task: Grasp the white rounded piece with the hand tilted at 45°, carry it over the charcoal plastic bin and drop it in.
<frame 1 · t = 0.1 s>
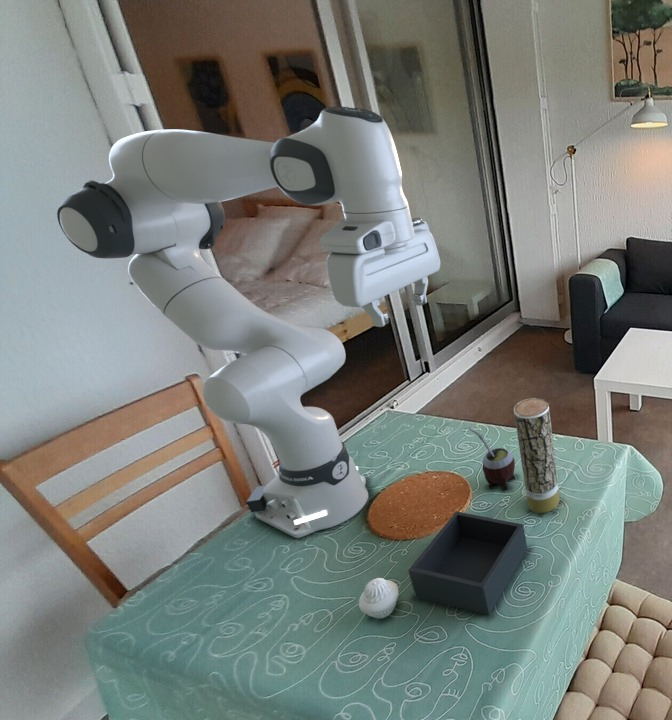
hand: (402, 314, 81), 48 cm above the table, tool pointing down, fingers open, 8 cm apart
mate gourd: (499, 483, 116), on the table
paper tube: (544, 504, 110), on the table
white rounded piece: (384, 611, 87), on the table
bin: (474, 572, 94), on the table
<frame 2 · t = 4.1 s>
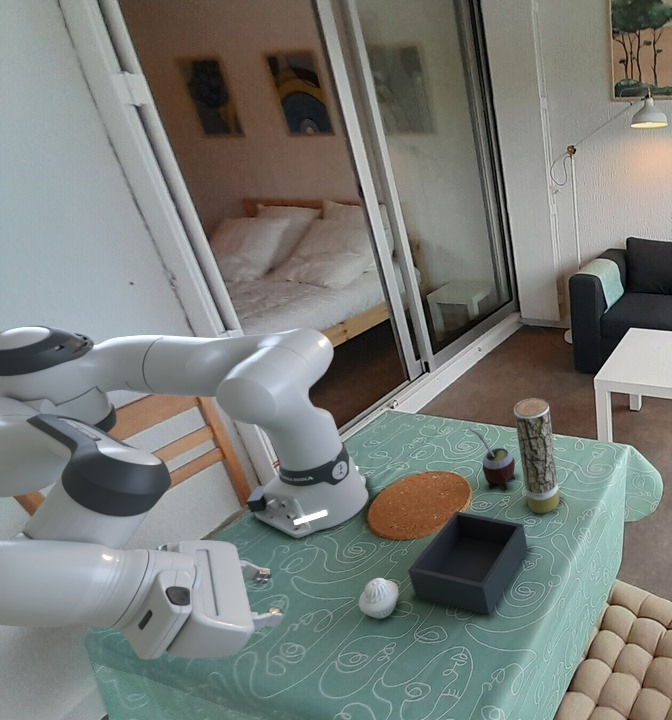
hand: (274, 596, 73), 14 cm above the table, tool tilted 45°, fingers open, 8 cm apart
nothing on the table moved.
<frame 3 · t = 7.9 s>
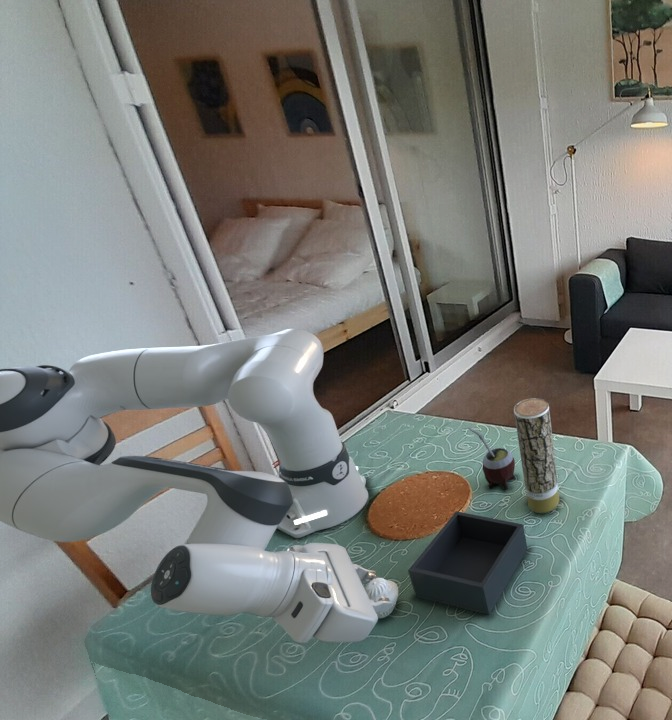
hand: (381, 591, 85), 4 cm above the table, tool tilted 45°, fingers closed on white rounded piece, 6 cm apart
white rounded piece: (384, 611, 87), on the table, touching gripper
everything else where it was.
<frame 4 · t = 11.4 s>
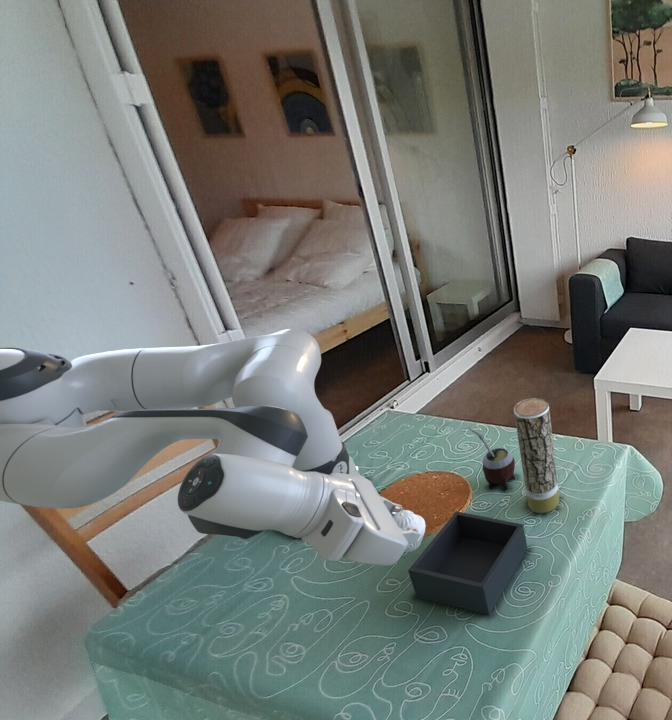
hand: (408, 523, 83), 16 cm above the table, tool tilted 45°, fingers closed on white rounded piece, 6 cm apart
white rounded piece: (410, 545, 84), point 12 cm above the table, touching gripper
everything else where it was.
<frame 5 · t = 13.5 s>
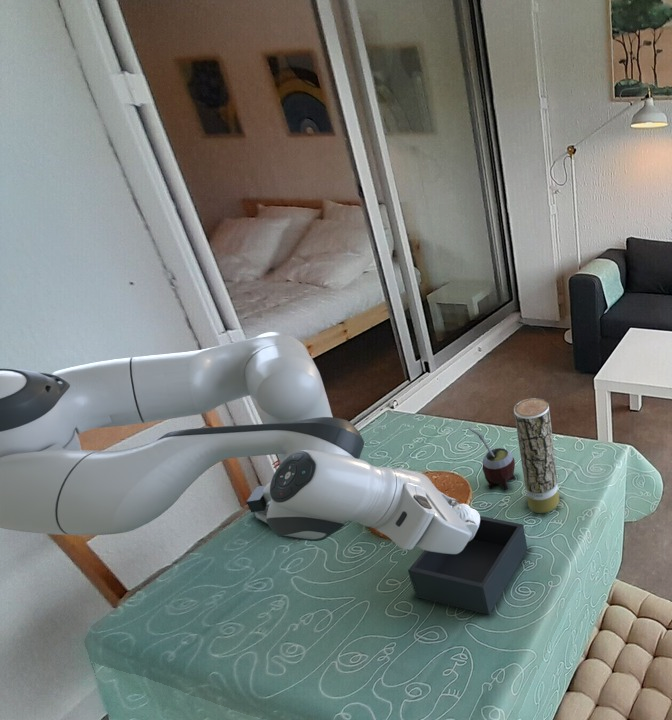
hand: (464, 516, 88), 14 cm above the table, tool tilted 45°, fingers closed on white rounded piece, 6 cm apart
white rounded piece: (465, 537, 90), point 9 cm above the table, touching gripper
everything else where it was.
when the fingers open (10 cm above the table, at t = 15.0 s): white rounded piece drops 4 cm, resting on bin.
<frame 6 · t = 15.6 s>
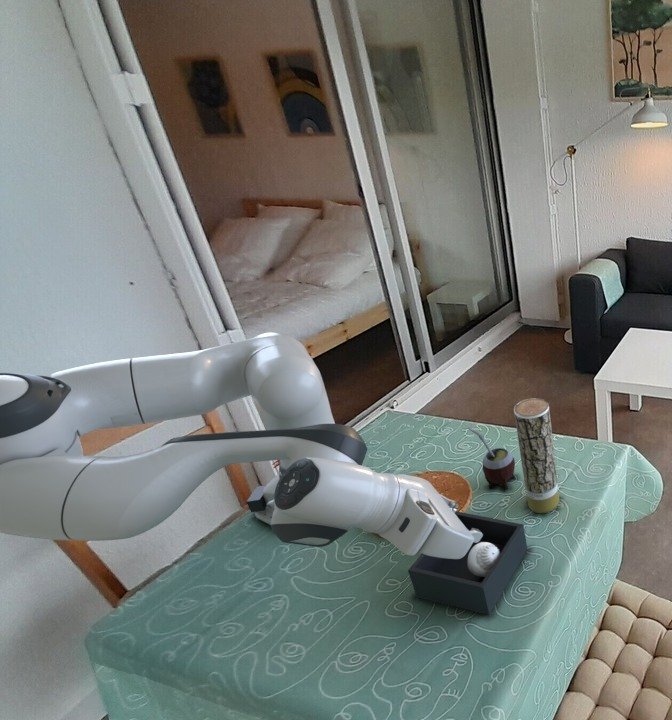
hand: (467, 521, 88), 12 cm above the table, tool tilted 45°, fingers open, 8 cm apart
white rounded piece: (475, 565, 92), point 2 cm above the table, touching bin
everything else where it was.
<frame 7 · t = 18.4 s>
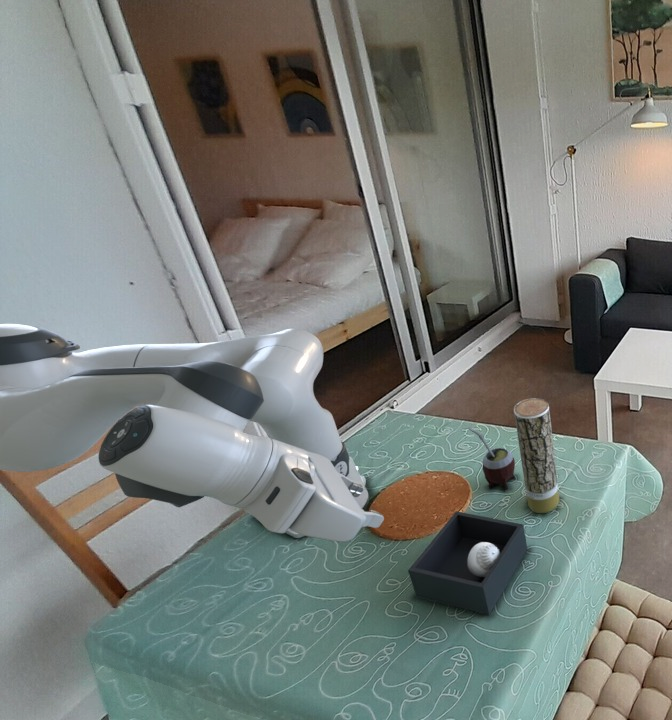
hand: (369, 505, 75), 25 cm above the table, tool tilted 40°, fingers open, 8 cm apart
nothing on the table moved.
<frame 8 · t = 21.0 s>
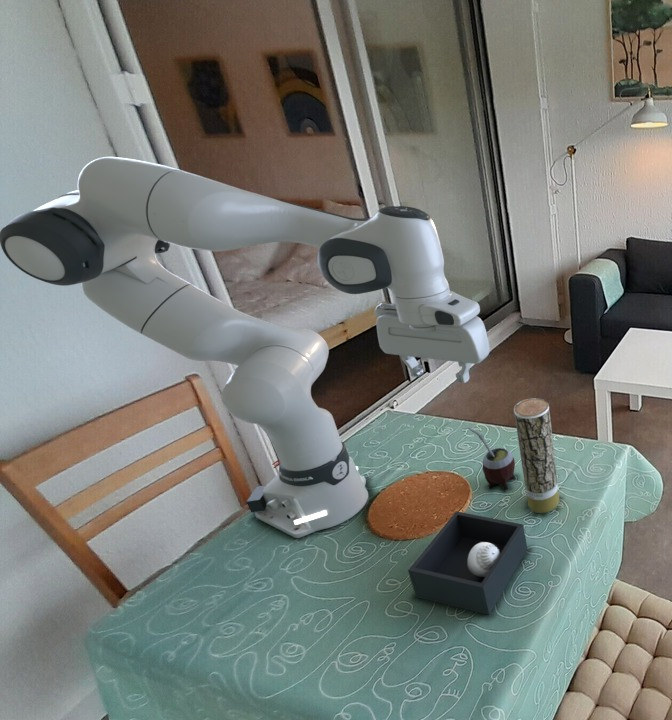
hand: (440, 378, 90), 34 cm above the table, tool pointing down, fingers open, 8 cm apart
nothing on the table moved.
at the end: white rounded piece inside the target area in the bin (0.6 cm from its centre), point 2.0 cm above the bin's base; the gripper is holding nothing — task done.
